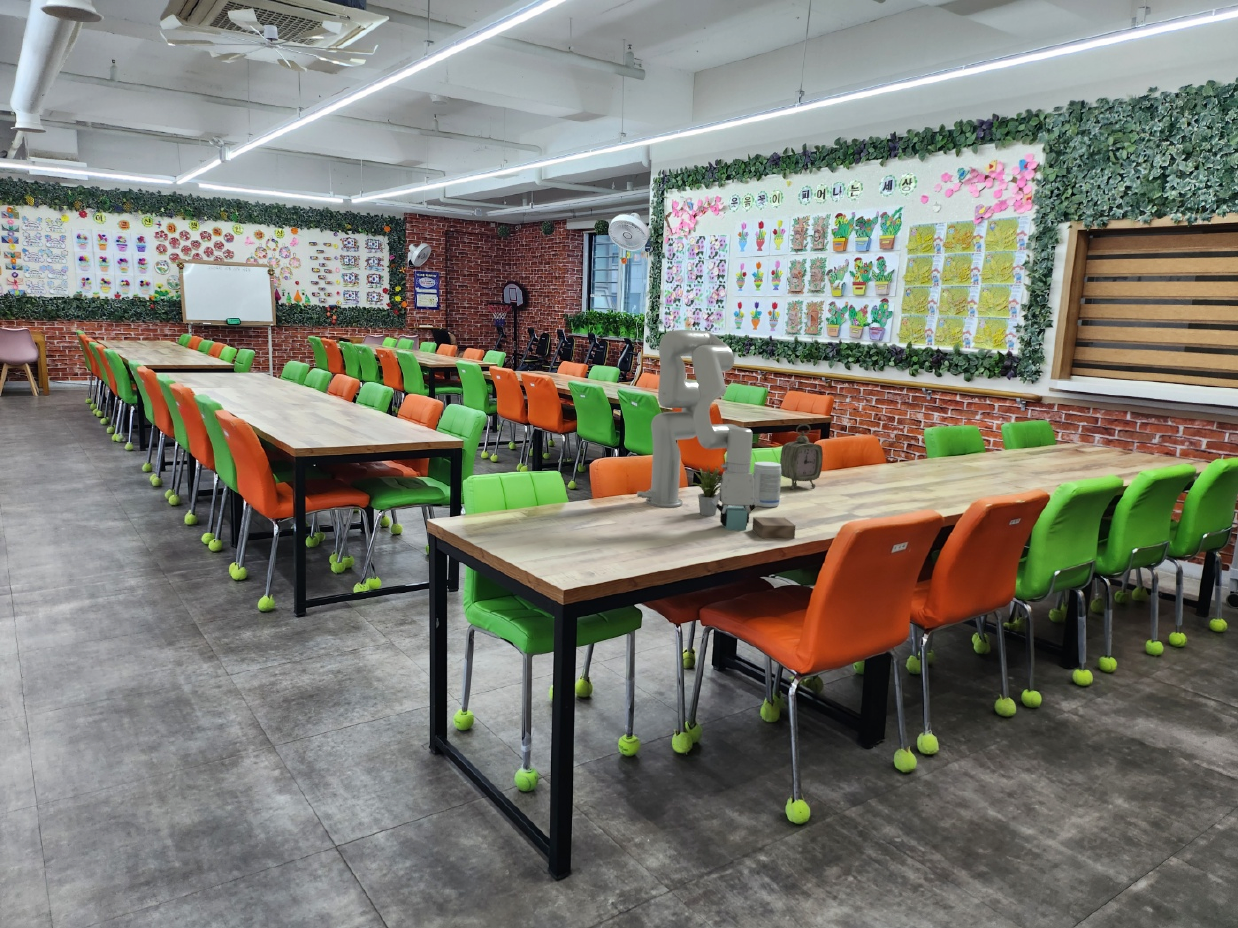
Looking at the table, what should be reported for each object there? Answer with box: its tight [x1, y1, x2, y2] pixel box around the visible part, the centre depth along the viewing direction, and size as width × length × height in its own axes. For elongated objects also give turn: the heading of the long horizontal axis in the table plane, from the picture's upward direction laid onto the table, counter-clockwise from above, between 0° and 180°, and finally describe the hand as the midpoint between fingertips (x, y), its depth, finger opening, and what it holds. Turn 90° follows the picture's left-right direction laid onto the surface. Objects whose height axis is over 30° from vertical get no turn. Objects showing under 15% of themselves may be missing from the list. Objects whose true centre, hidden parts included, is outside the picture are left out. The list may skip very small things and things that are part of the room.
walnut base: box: [751, 516, 796, 539], centre depth 256 cm, size 10×10×4 cm
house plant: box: [690, 465, 722, 517], centre depth 276 cm, size 14×14×16 cm
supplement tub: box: [753, 461, 782, 508], centre depth 295 cm, size 10×10×15 cm
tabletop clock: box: [779, 423, 824, 490], centre depth 328 cm, size 14×9×25 cm, turn 119°
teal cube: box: [723, 505, 748, 531], centre depth 262 cm, size 6×6×6 cm
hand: (734, 524), depth 263 cm, fingers closed on teal cube, 6 cm apart
